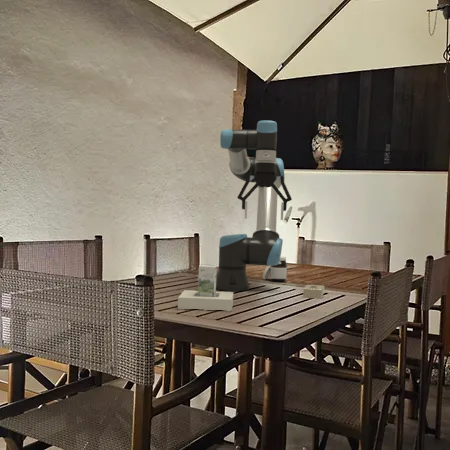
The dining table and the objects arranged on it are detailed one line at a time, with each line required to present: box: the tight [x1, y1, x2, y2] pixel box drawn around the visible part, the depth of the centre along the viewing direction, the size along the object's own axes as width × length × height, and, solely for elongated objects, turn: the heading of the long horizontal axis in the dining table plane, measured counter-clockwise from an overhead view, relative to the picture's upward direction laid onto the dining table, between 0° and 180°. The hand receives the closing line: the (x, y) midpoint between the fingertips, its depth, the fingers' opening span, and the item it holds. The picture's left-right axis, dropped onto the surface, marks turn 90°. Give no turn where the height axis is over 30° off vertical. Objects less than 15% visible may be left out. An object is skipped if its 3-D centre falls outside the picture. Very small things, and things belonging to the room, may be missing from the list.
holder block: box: [177, 289, 235, 312], centre depth 191 cm, size 18×16×4 cm
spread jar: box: [262, 256, 288, 283], centre depth 262 cm, size 12×11×12 cm
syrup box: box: [197, 263, 218, 297], centre depth 190 cm, size 6×6×14 cm
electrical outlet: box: [302, 284, 325, 300], centre depth 224 cm, size 7×4×18 cm
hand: (263, 219), depth 205 cm, fingers open, 13 cm apart
